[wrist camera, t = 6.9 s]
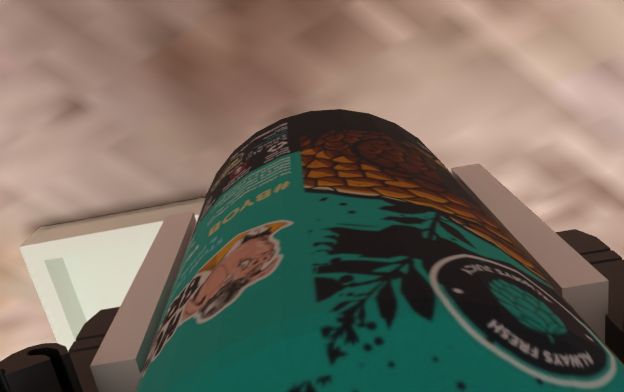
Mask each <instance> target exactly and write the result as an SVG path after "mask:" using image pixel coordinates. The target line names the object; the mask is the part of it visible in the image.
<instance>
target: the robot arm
mask: <svg viewBox="0 0 624 392" xmlns="http://www.w3.org/2000/svg"><path fill="white" fill-rule="evenodd" d="M451 170H452V175H453V176H454V177H455V178H456V179H457V180H458V181H459V183H460V184H461V185H462V186H463V187H464V188H465V189H466V190H467V191H468V193H469V194H470V195H471V196H472V197H473V198H474V199H475V200H476V201H477V203H478V204H479V205H480V206H481V207H482V208H483V209H484V210H485V211H486V212H487V214H488V215H489V216H490V217H491V218H492V219H493V220H494V221H495V222H496V224H497V225H498V226H499V227H500V228H501V229H502V230H503V231H504V232H505V233H506V235H507V236H508V237H509V238H510V239H511V240H512V241H513V242H514V243H515V245H516V246H517V247H518V248H519V249H520V250H521V251H522V252H523V253H524V255H525V256H526V257H527V258H528V259H529V260H530V261H531V262H532V263H533V264H534V266H535V267H536V268H537V269H538V270H539V271H540V272H541V273H542V274H543V276H544V277H545V278H546V279H547V280H548V281H549V282H550V283H551V284H552V286H553V287H554V288H555V289H556V290H557V291H558V292H559V293H560V294H561V295H562V297H563V298H564V299H565V300H566V301H567V302H568V303H569V304H570V305H571V307H572V308H573V309H574V310H575V311H576V312H577V313H578V314H579V315H580V316H581V318H582V319H583V320H584V321H585V322H586V323H587V324H588V325H589V326H590V328H591V329H592V330H593V331H594V332H595V333H596V334H597V335H598V336H599V338H600V339H601V340H602V341H603V342H604V343H605V344H606V345H607V346H608V347H609V349H610V350H611V351H612V352H613V353H614V354H615V355H616V356H617V357H618V359H619V360H620V361H621V362H622V363H623V364H624V260H622V258H621V257H620V256H619V255H618V254H617V253H615V252H614V251H611V250H610V248H609V247H608V246H607V245H605V244H604V243H603V242H602V241H600V240H599V239H598V238H597V237H594V236H592V235H589V234H586V233H584V232H581V231H578V230H576V229H574V230H568V231H562V232H556V233H555V232H554V231H553V230H552V229H551V228H550V227H549V226H548V225H547V224H545V223H544V222H543V221H542V220H541V219H540V218H539V217H538V216H537V215H535V214H534V213H533V212H532V211H531V210H530V209H529V208H528V207H527V206H526V205H524V204H523V203H522V202H521V201H520V200H519V199H518V198H517V197H516V196H514V195H513V194H512V193H511V192H510V191H509V190H508V189H507V188H506V187H505V186H503V185H502V184H501V183H500V182H499V181H498V180H497V179H496V178H495V177H493V176H492V175H491V174H490V173H489V172H488V171H487V170H486V169H485V168H484V167H482V166H481V165H480V164H474V165H468V166H462V167H456V168H451ZM195 225H196V218H195V214H194V212H188V213H182V214H176V215H170V216H166V217H165V219H164V221H163V223H162V225H161V227H160V229H159V231H158V233H157V235H156V237H155V239H154V241H153V243H152V245H151V247H150V249H149V251H148V253H147V255H146V257H145V259H144V261H143V263H142V265H141V267H140V269H139V270H138V272H137V274H136V276H135V278H134V280H133V282H132V284H131V286H130V288H129V290H128V292H127V294H126V296H125V298H124V300H123V302H122V304H121V306H120V307H115V308H109V309H103V310H100V311H99V312H98V313H96V314H95V315H94V316H93V317H92V318H91V319H89V320H88V321H87V322H86V323H85V324H84V325H83V327H82V329H81V330H80V332H79V334H78V335H77V337H76V341H74V342H73V344H72V346H71V347H70V349H69V352H68V350H67V348H66V346H63V345H61V344H58V343H45V344H40V345H36V346H32V347H28V348H26V349H23V350H21V351H19V352H16V353H14V354H12V355H10V356H9V357H7V358H5V359H4V360H2V361H0V392H135V389H136V387H137V384H138V381H139V379H140V376H141V373H142V370H143V368H144V365H145V362H146V359H147V357H148V354H149V351H150V348H151V346H152V343H153V340H154V337H155V335H156V332H157V329H158V326H159V324H160V321H161V318H162V315H163V313H164V310H165V307H166V304H167V302H168V299H169V296H170V293H171V291H172V288H173V285H174V282H175V280H176V277H177V274H178V272H179V269H180V266H181V263H182V261H183V258H184V255H185V252H186V250H187V247H188V244H189V241H190V239H191V236H192V233H193V230H194V228H195Z"/></svg>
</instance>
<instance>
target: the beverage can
mask: <svg viewBox="0 0 624 392" xmlns="http://www.w3.org/2000/svg"><path fill="white" fill-rule="evenodd" d="M135 392H624V364H623V363H622V362H621V361H620V360H619V359H618V357H617V356H616V355H615V354H614V353H613V352H612V351H611V350H610V349H609V347H608V346H607V345H606V344H605V343H604V342H603V341H602V340H601V339H600V338H599V336H598V335H597V334H596V333H595V332H594V331H593V330H592V329H591V328H590V326H589V325H588V324H587V323H586V322H585V321H584V320H583V319H582V318H581V316H580V315H579V314H578V313H577V312H576V311H575V310H574V309H573V308H572V307H571V305H570V304H569V303H568V302H567V301H566V300H565V299H564V298H563V297H562V295H561V294H560V293H559V292H558V291H557V290H556V289H555V288H554V287H553V286H552V284H551V283H550V282H549V281H548V280H547V279H546V278H545V277H544V276H543V274H542V273H541V272H540V271H539V270H538V269H537V268H536V267H535V266H534V264H533V263H532V262H531V261H530V260H529V259H528V258H527V257H526V256H525V255H524V253H523V252H522V251H521V250H520V249H519V248H518V247H517V246H516V245H515V243H514V242H513V241H512V240H511V239H510V238H509V237H508V236H507V235H506V233H505V232H504V231H503V230H502V229H501V228H500V227H499V226H498V225H497V224H496V222H495V221H494V220H493V219H492V218H491V217H490V216H489V215H488V214H487V212H486V211H485V210H484V209H483V208H482V207H481V206H480V205H479V204H478V203H477V201H476V200H475V199H474V198H473V197H472V196H471V195H470V194H469V193H468V191H467V190H466V189H465V188H464V187H463V186H462V185H461V184H460V183H459V181H458V180H457V179H456V178H455V177H454V176H453V175H452V174H451V173H450V172H449V170H448V169H447V168H446V167H445V166H444V165H443V164H442V163H441V162H440V160H439V159H438V158H437V157H436V156H435V155H434V154H433V153H432V152H431V151H430V150H429V149H428V148H427V147H426V146H425V145H424V144H423V143H422V142H421V141H420V140H419V139H418V138H417V137H415V136H414V135H412V134H411V133H409V132H408V131H406V130H405V129H403V128H401V127H400V126H398V125H397V124H395V123H393V122H390V121H387V120H385V119H382V118H379V117H377V116H374V115H371V114H369V113H362V112H355V111H348V110H341V109H337V110H321V111H309V112H306V113H302V114H299V115H295V116H291V117H288V118H284V119H281V120H279V121H277V122H275V123H274V124H272V125H270V126H268V127H266V128H264V129H262V130H260V131H258V132H256V133H255V134H254V135H253V136H251V137H250V138H249V139H248V140H247V141H245V142H244V143H243V144H242V145H240V146H239V147H238V148H237V149H236V150H234V152H233V153H232V154H231V155H230V157H229V158H228V159H227V161H226V162H225V163H224V164H223V166H222V167H221V168H220V170H219V171H218V172H217V174H216V176H215V178H214V180H213V182H212V185H211V187H210V189H209V191H208V193H207V195H206V197H205V200H204V203H203V206H202V208H201V211H200V214H199V217H198V219H197V222H196V225H195V228H194V230H193V233H192V236H191V239H190V241H189V244H188V247H187V250H186V252H185V255H184V258H183V261H182V263H181V266H180V269H179V272H178V274H177V277H176V280H175V282H174V285H173V288H172V291H171V293H170V296H169V299H168V302H167V304H166V307H165V310H164V313H163V315H162V318H161V321H160V324H159V326H158V329H157V332H156V335H155V337H154V340H153V343H152V346H151V348H150V351H149V354H148V357H147V359H146V362H145V365H144V368H143V370H142V373H141V376H140V379H139V381H138V384H137V387H136V389H135Z"/></svg>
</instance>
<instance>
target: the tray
mask: <svg viewBox="0 0 624 392" xmlns="http://www.w3.org/2000/svg"><path fill="white" fill-rule="evenodd" d="M204 200H205V198H199V199H194V200H188V201H183V202H177V203H172V204H166V205H161V206H155V207H150V208H144V209H139V210H133V211H128V212H122V213H117V214H111V215H106V216H100V217H95V218H89V219H84V220H78V221H73V222H67V223H62V224H56V225H51V226H45V227H40V228H38V229H37V230H36V231H35V232H34V233H33V234H32V235H31V236H30V237H29V238H28V239H27V240H26V241H25V242H24V243H23V244H21V245H20V246H19V248H20V251H21V253H22V256H23V258H24V261H25V263H26V266H27V268H28V271H29V273H30V276H31V278H32V281H33V283H34V286H35V288H36V290H37V293H38V295H39V298H40V300H41V303H42V305H43V308H44V310H45V313H46V315H47V318H48V320H49V323H50V325H51V328H52V330H53V333H54V335H55V338H56V340H57V343H58V344H61V345H63V346H66V348H67V350H68V352H69V349H70V347H71V346H72V344H73V342H74V341H76V337H77V335H78V334H79V332H80V330H81V329H82V327H83V325H84V324H85V323H86V322H87V321H88V320H89V319H91V318H92V317H93V316H94V315H95V314H96V313H98V312H99V311H100V310H103V309H109V308H115V307H120V306H121V304H122V302H123V300H124V298H125V296H126V294H127V292H128V290H129V288H130V286H131V284H132V282H133V280H134V278H135V276H136V274H137V272H138V270H139V269H140V267H141V265H142V263H143V261H144V259H145V257H146V255H147V253H148V251H149V249H150V247H151V245H152V243H153V241H154V239H155V237H156V235H157V233H158V231H159V229H160V227H161V225H162V223H163V221H164V219H165V217H166V216H170V215H176V214H182V213H188V212H194V214H195V218H196V222H197V219H198V217H199V214H200V211H201V208H202V206H203V203H204Z"/></svg>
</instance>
